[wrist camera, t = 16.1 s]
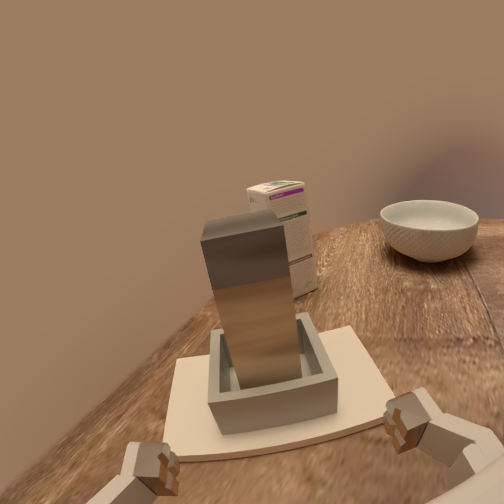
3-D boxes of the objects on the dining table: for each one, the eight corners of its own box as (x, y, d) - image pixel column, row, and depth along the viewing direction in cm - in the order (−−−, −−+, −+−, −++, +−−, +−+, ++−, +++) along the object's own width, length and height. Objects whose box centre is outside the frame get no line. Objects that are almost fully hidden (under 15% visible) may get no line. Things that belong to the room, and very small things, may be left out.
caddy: (179, 365, 28) (164, 327, 27) (349, 332, 29) (349, 291, 27) (165, 462, 17) (137, 425, 15) (400, 416, 17) (411, 372, 16)
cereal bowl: (362, 261, 44) (360, 217, 42) (406, 231, 53) (405, 196, 50) (460, 287, 31) (466, 235, 28) (483, 246, 39) (485, 207, 37)
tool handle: (243, 374, 25) (205, 221, 20) (293, 364, 25) (271, 209, 20) (247, 411, 20) (200, 241, 16) (304, 400, 20) (283, 225, 16)
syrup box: (319, 288, 39) (307, 180, 34) (282, 304, 37) (264, 189, 32) (297, 275, 44) (283, 178, 39) (262, 288, 42) (244, 187, 37)
